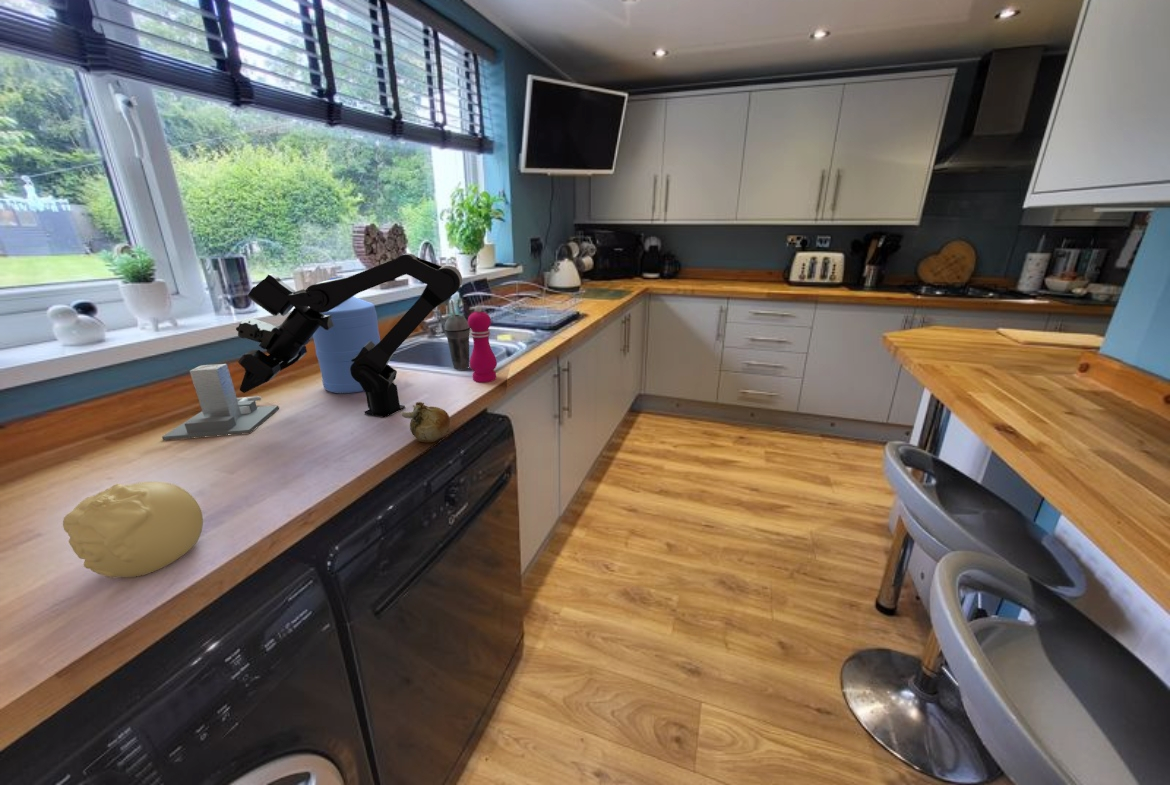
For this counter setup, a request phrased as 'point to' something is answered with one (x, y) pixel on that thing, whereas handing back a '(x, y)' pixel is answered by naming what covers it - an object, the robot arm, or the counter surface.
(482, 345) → the pepper mill
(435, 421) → the onion
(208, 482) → the counter surface
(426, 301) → the robot arm
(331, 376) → the water jug
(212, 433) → the stepped grey baseplate
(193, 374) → the steel block
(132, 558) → the sculpture
